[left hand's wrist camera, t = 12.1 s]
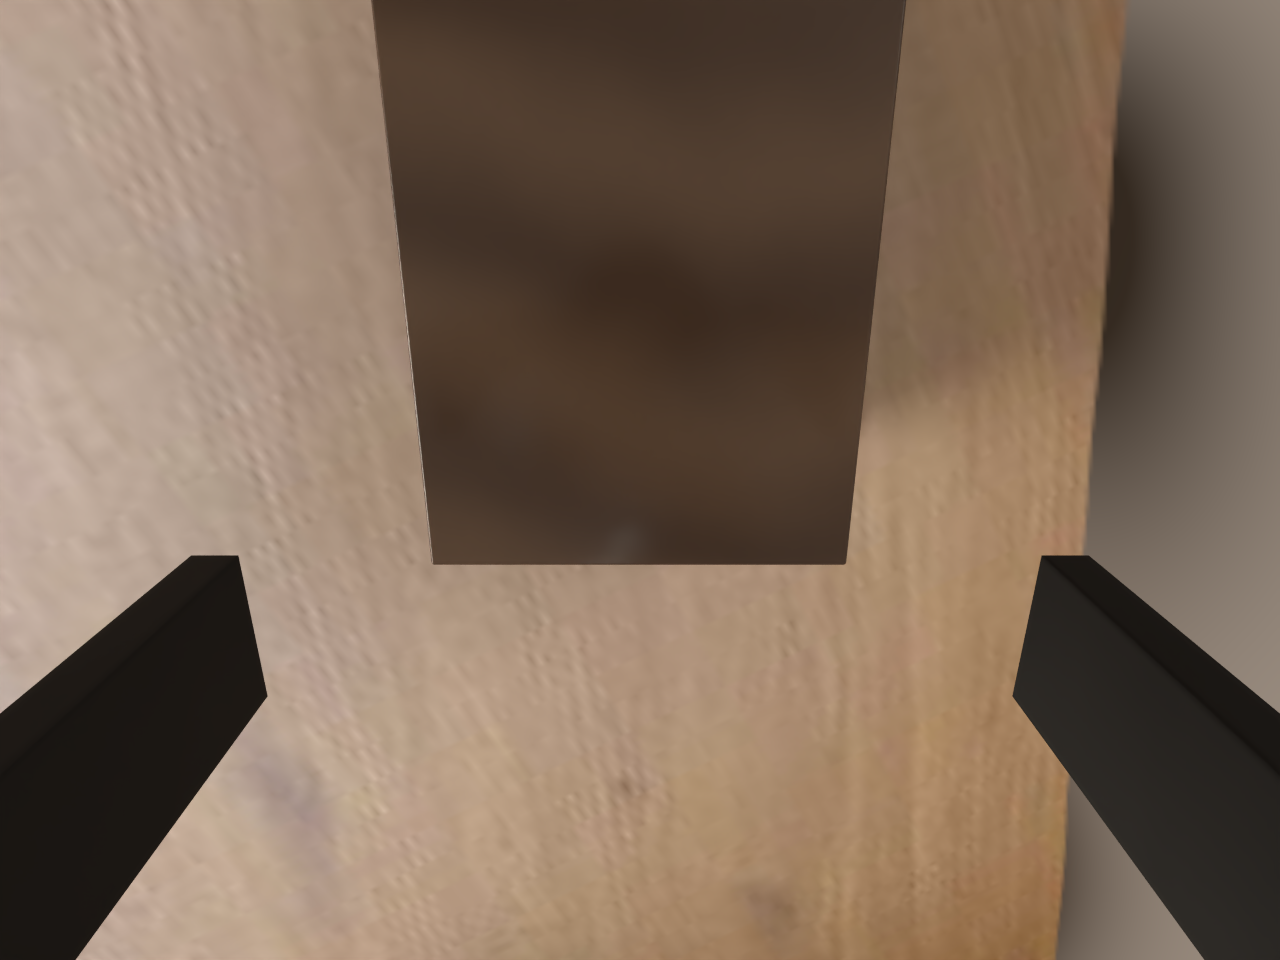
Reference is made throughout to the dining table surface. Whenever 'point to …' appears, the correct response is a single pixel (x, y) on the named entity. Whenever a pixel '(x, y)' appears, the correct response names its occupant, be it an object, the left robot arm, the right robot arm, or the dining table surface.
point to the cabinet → (638, 270)
